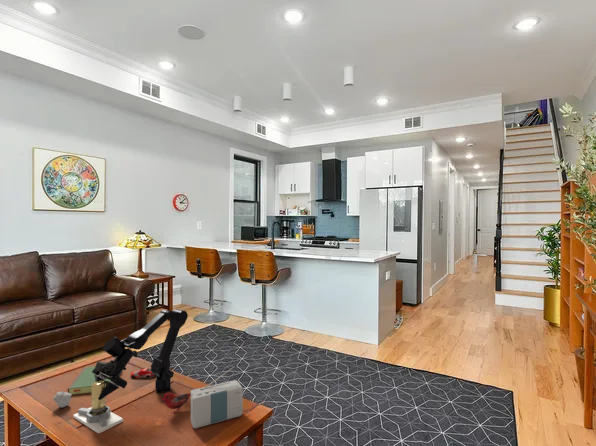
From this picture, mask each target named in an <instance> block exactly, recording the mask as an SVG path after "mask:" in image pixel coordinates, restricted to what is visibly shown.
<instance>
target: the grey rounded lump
mask: <svg viewBox="0 0 596 446" xmlns="http://www.w3.org/2000/svg"><path fill="white" fill-rule="evenodd" d="M55 394H56V395H54V396H53V401H54V403H56V406H57V407H59V408H60V409H61V408H65V407H67V406H68V405H69V404H70V402H71V400H72V395H71V394H70V393H68V391H67V392H65V391H58V392H56V393H55Z"/></svg>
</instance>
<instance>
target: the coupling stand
mask: <svg viewBox="0 0 596 446" xmlns="http://www.w3.org/2000/svg"><path fill="white" fill-rule="evenodd" d="M91 408H92V406H91V407H88V408H87V407H80V408H78V410H77V411H78V412H77V413H74V414H73V419H74V420H76V421H78V422H79V423H81V424H82V425H84V426H86V427H87V428H89V429H90V430H92V431H93V432H95V433H97V434H100V433H103V432H105V431H107V430H109V429H111V428H112V427H115V426H117V425H118V424H121V423H123V422H124V418H123V417H121V416H120V415H118V414H116V413H114V412H112V411H111V407H110V406H108V405H106V409H105V413H102V414H100V415H93V416H92V412H91Z"/></svg>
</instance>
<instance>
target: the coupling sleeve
mask: <svg viewBox="0 0 596 446" xmlns="http://www.w3.org/2000/svg"><path fill="white" fill-rule="evenodd" d="M104 388H105V381H97V382H94V383H93V384H92V396H91V407H92V408H91V412H92V416H93V415H100V414H102V413H105V409H106V406H107V404H106V396H105V397H104V398H103V399H101V400H99V399H98V398H99V396H100V394H101V393H102V391H103V390H104Z"/></svg>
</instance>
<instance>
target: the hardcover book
mask: <svg viewBox="0 0 596 446" xmlns="http://www.w3.org/2000/svg"><path fill="white" fill-rule="evenodd" d="M94 368H95V366H87V367H83V368H82V370H81V371H80V372H79V373H78V375H77V376H76V377H75V378H74V380H73V381H72V383H71V384H70V385H69V386H68V388H67V393H70V394H71V395H79V394H80V395H81V394H89V393H90V394H91V392H92V384H93V383H94V382H95V376H94V375H95V374H94V373H92V371H93V369H94ZM106 380H107V381H109V382H110V381H111V380H109V379H105V381H106ZM105 386H106V384H105Z"/></svg>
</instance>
